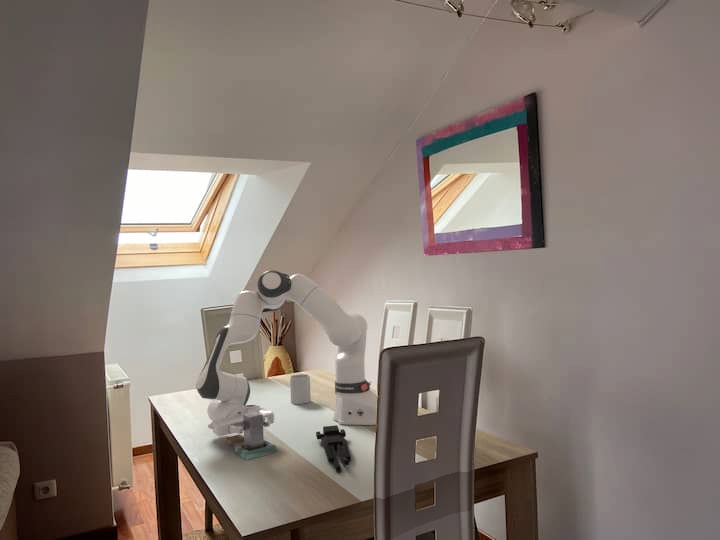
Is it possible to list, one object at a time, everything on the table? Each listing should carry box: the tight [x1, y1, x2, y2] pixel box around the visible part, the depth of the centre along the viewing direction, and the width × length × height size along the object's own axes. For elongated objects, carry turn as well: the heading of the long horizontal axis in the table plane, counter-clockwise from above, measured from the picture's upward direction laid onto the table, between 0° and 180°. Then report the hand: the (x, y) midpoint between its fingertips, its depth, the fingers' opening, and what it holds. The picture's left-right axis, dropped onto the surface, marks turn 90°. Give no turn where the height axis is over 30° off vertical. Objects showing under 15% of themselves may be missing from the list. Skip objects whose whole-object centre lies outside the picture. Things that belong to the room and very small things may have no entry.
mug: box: [289, 373, 312, 405], centre depth 235 cm, size 12×8×11 cm
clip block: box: [243, 412, 265, 451], centre depth 173 cm, size 4×4×12 cm
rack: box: [225, 433, 277, 461], centre depth 177 cm, size 20×10×2 cm, turn 38°
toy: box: [315, 425, 352, 473], centre depth 168 cm, size 10×5×30 cm
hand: (254, 427), depth 172 cm, fingers open, 8 cm apart
